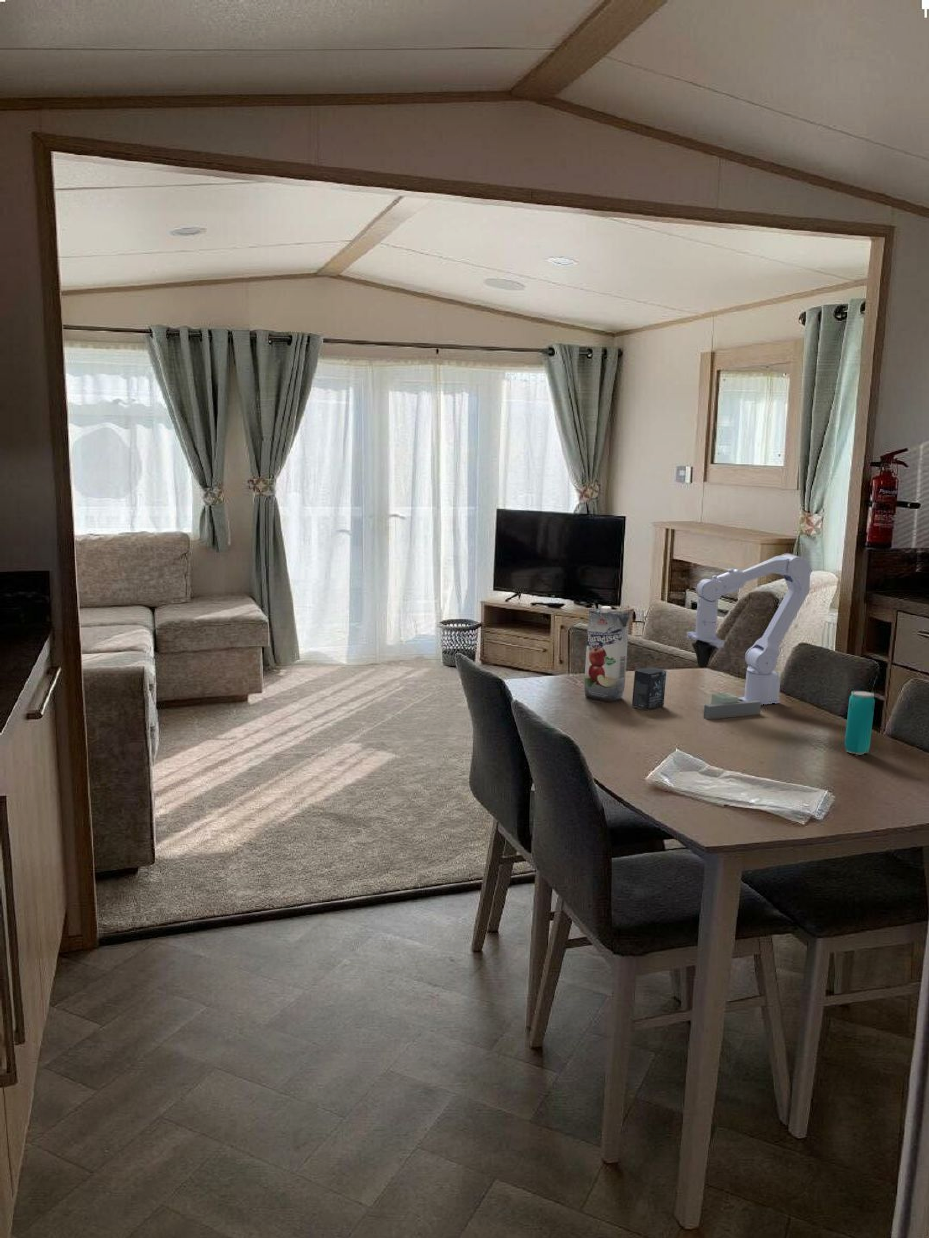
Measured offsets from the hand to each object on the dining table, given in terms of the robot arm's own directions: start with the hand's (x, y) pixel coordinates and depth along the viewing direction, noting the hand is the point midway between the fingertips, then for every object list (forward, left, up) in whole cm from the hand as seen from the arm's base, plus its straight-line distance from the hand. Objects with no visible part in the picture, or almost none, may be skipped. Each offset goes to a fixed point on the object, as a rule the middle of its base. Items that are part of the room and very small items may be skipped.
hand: (702, 667), depth 286 cm
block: (+2, +13, -10) cm, 17 cm away
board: (+2, +17, -10) cm, 19 cm away
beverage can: (-5, +54, -10) cm, 55 cm away
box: (+19, +1, -10) cm, 22 cm away
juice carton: (+26, -11, -10) cm, 30 cm away
